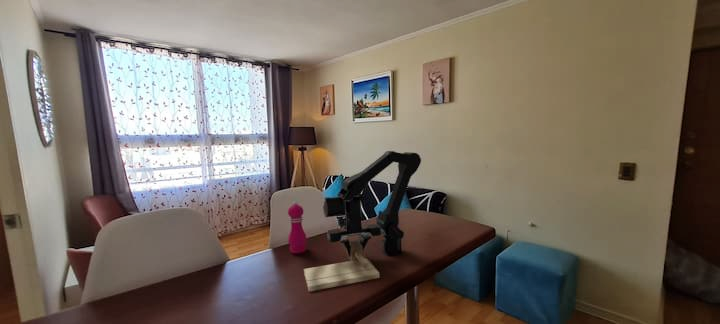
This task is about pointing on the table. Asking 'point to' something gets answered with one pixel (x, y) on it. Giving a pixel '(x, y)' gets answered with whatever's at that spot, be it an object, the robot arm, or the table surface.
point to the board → (338, 274)
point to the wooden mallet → (357, 253)
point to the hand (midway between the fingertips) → (355, 255)
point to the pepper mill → (296, 229)
